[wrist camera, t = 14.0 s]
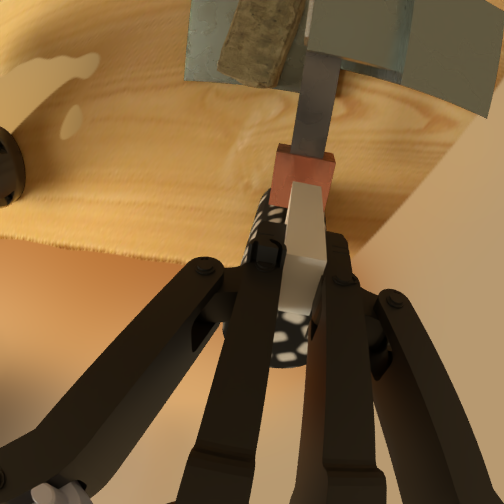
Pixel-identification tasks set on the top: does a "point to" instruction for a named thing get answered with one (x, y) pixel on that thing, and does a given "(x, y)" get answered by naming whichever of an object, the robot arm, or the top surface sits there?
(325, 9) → the press
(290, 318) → the white-spotted black cylinder
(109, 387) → the robot arm
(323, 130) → the hammer
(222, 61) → the stone block
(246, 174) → the top surface
